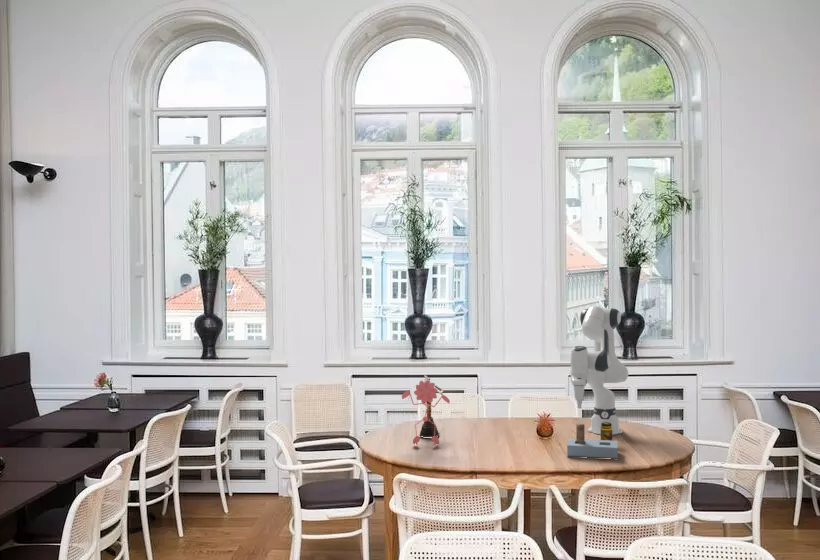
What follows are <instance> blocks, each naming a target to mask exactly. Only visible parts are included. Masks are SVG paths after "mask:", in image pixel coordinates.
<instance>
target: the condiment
mask: <svg viewBox="0 0 820 560" xmlns="http://www.w3.org/2000/svg"><path fill="white" fill-rule="evenodd" d="M611 425H612V424H611V423H609V422H603V423H601V434H600V440H610V441H614V440H613V435H612V428H611V427H612V426H611Z"/></svg>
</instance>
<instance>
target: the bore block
mask: <svg viewBox="0 0 820 560" xmlns="http://www.w3.org/2000/svg"><path fill="white" fill-rule="evenodd" d="M618 447H619V445H618V440H613V441H610V440H601V439H587V438H585V444H576V438H568V440H567V456H566V457H567V458H570V457H587V458H586V459H588V458H611V459H618V460H619V458H618V457H619V456H618V455H619V453H618V452H619V450H618V449H619V448H618Z"/></svg>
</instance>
